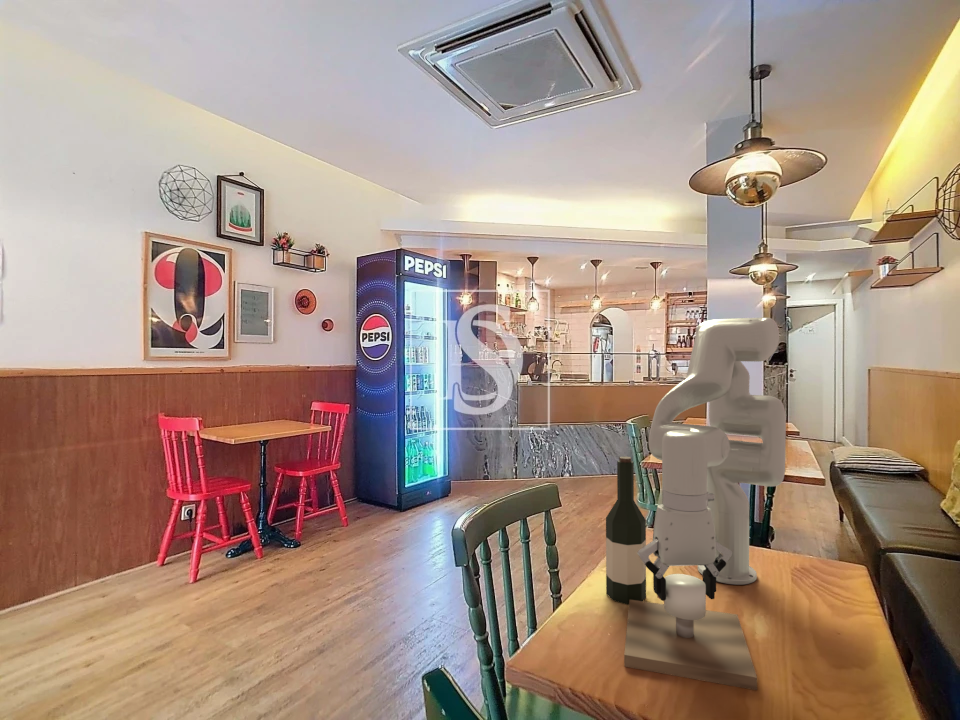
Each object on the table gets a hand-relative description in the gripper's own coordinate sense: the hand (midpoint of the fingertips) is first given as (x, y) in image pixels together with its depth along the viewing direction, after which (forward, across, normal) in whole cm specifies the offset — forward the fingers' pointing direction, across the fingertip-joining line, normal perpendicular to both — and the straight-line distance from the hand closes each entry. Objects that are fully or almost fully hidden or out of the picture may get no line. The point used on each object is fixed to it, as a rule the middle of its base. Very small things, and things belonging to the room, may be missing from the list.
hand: (684, 595), depth 93 cm
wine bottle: (+9, +5, -19) cm, 21 cm away
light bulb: (+3, 0, -1) cm, 3 cm away
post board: (+9, 0, 0) cm, 9 cm away
